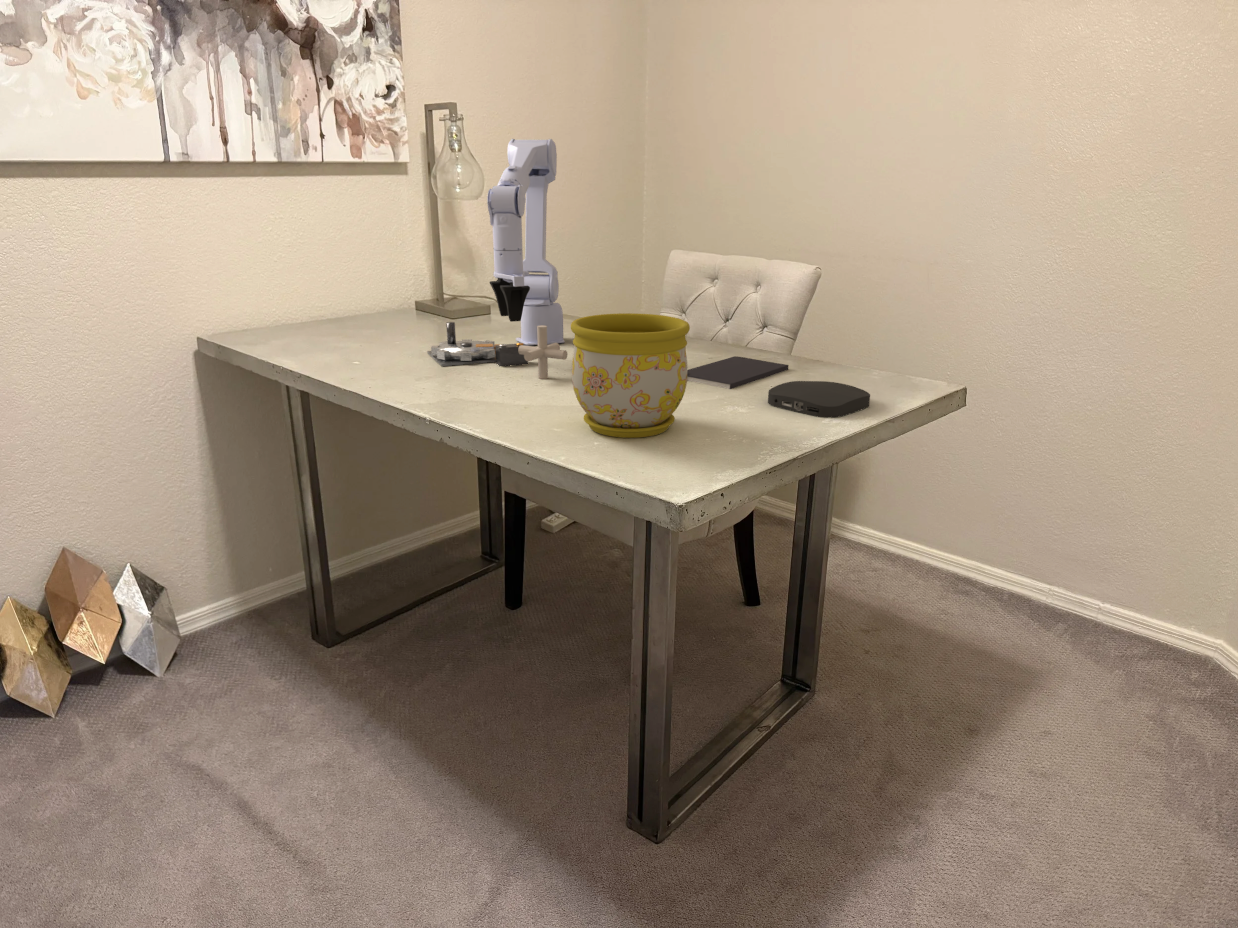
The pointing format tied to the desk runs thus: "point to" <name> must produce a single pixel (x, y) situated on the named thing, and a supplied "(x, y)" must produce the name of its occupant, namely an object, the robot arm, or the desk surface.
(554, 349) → the pipe connector
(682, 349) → the flowerpot
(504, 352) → the two-button control panel
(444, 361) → the plate
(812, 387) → the media streaming box
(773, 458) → the desk surface
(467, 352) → the sprocket
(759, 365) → the notebook
